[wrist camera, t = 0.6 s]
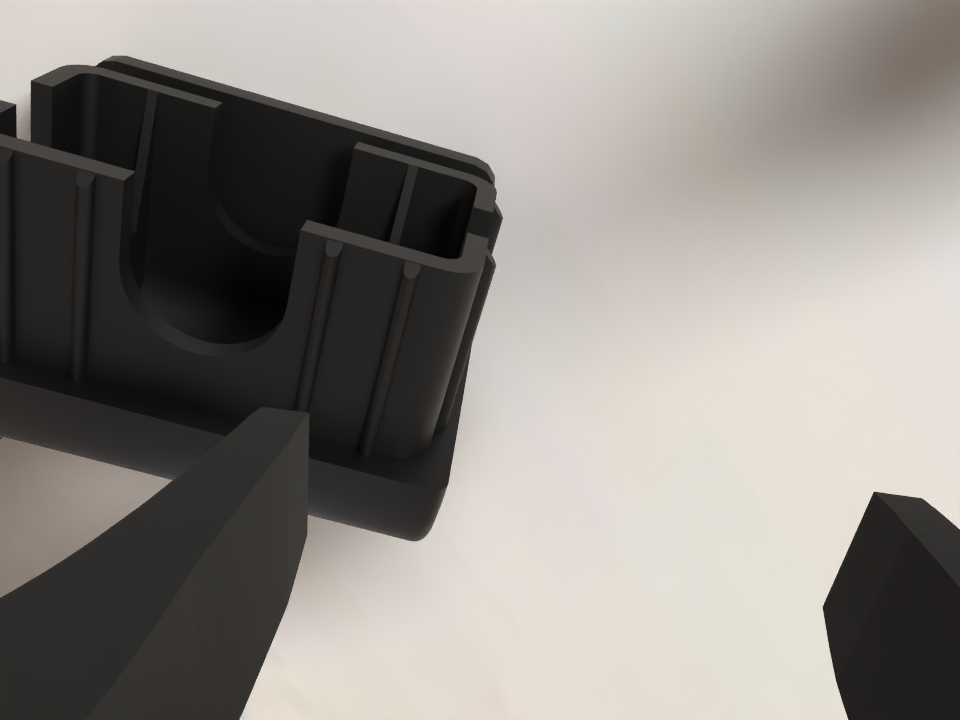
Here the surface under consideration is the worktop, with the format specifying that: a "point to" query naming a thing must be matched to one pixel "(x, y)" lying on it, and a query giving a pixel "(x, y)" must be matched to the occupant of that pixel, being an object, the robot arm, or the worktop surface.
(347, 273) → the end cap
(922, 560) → the robot arm
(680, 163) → the worktop surface
